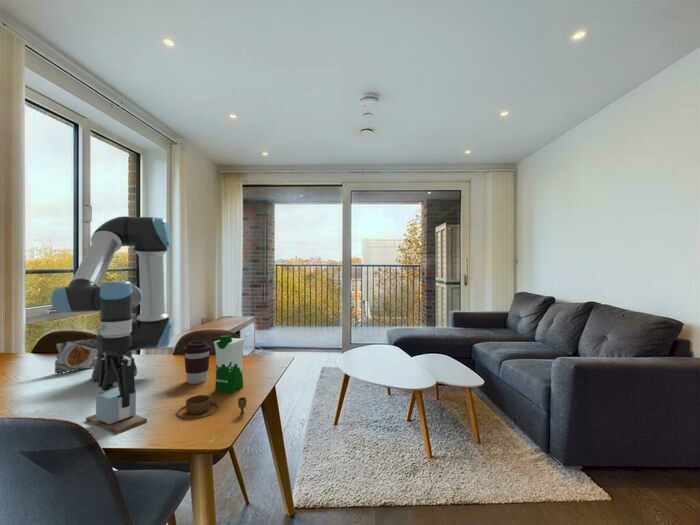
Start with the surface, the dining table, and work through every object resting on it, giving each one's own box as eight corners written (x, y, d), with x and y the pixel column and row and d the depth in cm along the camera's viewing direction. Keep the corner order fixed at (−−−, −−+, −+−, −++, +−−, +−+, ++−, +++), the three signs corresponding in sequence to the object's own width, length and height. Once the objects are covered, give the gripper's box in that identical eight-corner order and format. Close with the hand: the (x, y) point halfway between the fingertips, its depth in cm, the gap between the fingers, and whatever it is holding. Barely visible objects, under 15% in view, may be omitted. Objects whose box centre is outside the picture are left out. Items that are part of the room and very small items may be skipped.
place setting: (214, 400, 117) (214, 383, 117) (250, 417, 105) (250, 397, 105) (160, 419, 103) (160, 399, 103) (194, 440, 91) (194, 418, 91)
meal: (57, 377, 140) (57, 344, 140) (54, 374, 143) (54, 343, 143) (101, 368, 152) (101, 338, 152) (98, 366, 154) (98, 337, 154)
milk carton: (211, 392, 123) (211, 336, 123) (227, 383, 132) (227, 331, 132) (231, 395, 120) (231, 338, 120) (247, 386, 129) (247, 333, 129)
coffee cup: (200, 386, 129) (200, 346, 129) (177, 384, 131) (177, 345, 131) (216, 377, 139) (216, 340, 139) (194, 376, 141) (194, 339, 141)
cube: (95, 418, 97) (96, 393, 97) (122, 409, 103) (122, 386, 103) (109, 424, 94) (109, 398, 94) (135, 414, 100) (135, 390, 100)
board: (86, 423, 99) (86, 417, 99) (116, 413, 106) (116, 407, 106) (116, 437, 91) (116, 430, 91) (146, 424, 98) (146, 418, 98)
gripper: (83, 334, 100) (83, 413, 100) (121, 341, 91) (121, 428, 91) (111, 329, 107) (111, 403, 107) (150, 336, 97) (150, 417, 97)
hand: (116, 415), depth 99 cm, fingers closed on cube, 7 cm apart
